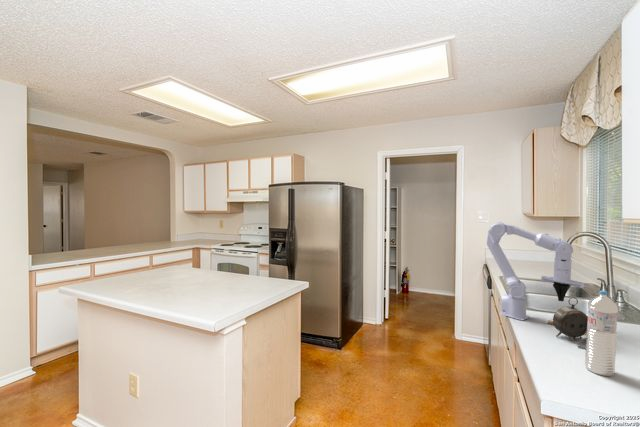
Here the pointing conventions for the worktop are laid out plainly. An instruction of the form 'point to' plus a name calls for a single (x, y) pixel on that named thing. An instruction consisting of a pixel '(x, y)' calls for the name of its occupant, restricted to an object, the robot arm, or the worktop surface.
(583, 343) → the mat
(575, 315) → the alarm clock
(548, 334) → the worktop surface
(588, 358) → the water bottle
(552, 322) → the turner
